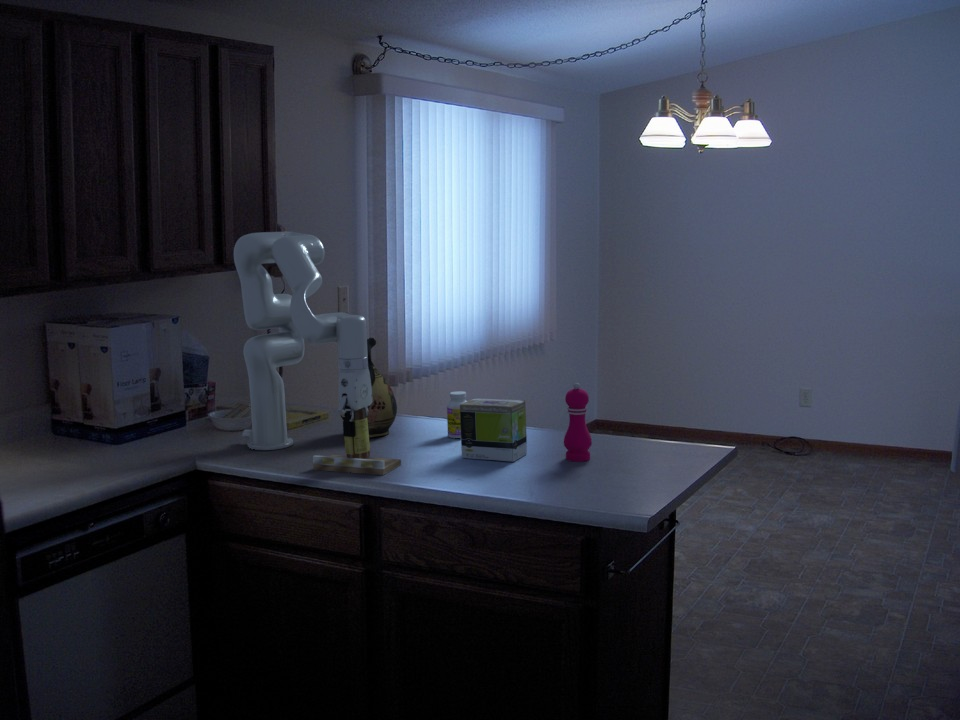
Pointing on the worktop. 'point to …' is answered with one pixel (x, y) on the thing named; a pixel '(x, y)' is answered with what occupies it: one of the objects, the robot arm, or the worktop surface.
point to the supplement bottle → (455, 413)
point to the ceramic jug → (379, 400)
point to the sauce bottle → (358, 437)
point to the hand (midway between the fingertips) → (356, 432)
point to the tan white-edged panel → (355, 464)
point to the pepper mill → (577, 426)
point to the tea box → (493, 429)
